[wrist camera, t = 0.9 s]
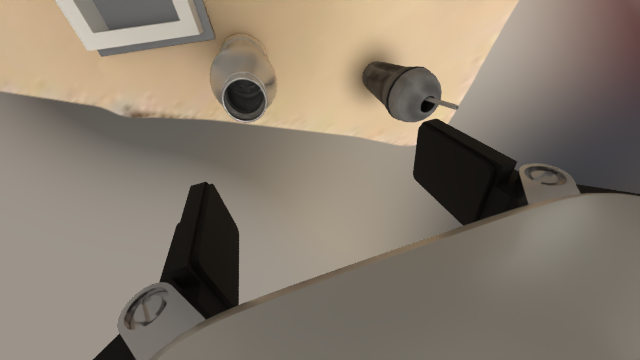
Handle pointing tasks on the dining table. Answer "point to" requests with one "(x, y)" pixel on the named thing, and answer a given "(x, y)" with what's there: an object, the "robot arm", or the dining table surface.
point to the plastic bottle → (243, 78)
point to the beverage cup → (405, 90)
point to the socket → (137, 23)
